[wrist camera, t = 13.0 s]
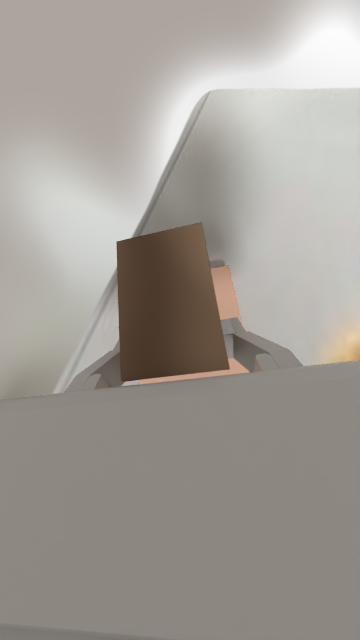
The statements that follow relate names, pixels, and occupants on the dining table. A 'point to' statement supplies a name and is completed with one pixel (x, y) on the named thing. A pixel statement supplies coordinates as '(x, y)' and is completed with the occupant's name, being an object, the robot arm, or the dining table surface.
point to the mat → (226, 310)
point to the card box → (168, 306)
